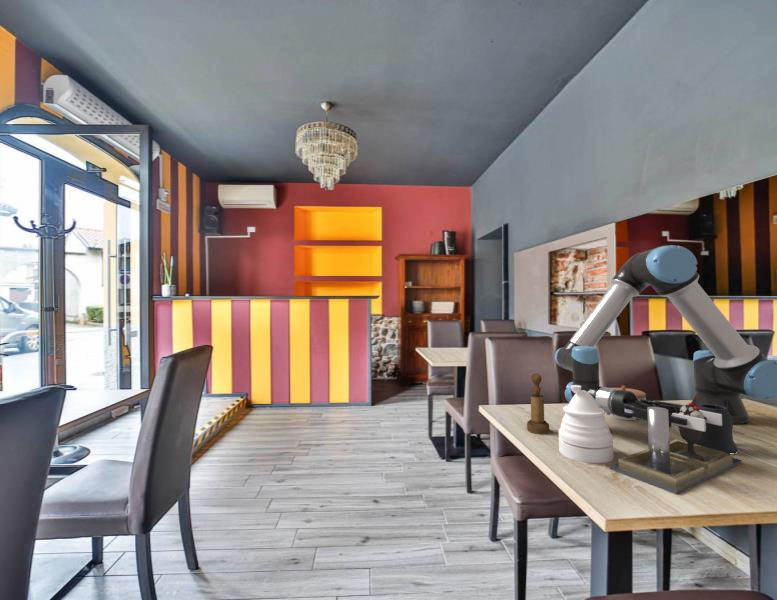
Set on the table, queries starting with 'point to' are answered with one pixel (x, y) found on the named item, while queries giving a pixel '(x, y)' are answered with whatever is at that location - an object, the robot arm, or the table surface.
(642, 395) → the lidded bowl
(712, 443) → the mug
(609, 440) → the honey pot
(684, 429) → the sundae
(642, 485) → the table surface
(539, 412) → the brown pedestal figurine
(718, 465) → the olive compartment tray
